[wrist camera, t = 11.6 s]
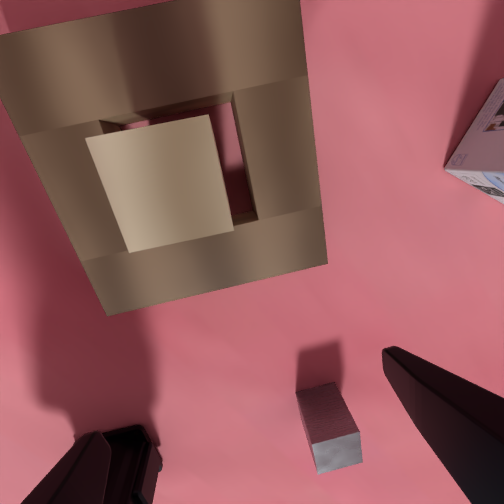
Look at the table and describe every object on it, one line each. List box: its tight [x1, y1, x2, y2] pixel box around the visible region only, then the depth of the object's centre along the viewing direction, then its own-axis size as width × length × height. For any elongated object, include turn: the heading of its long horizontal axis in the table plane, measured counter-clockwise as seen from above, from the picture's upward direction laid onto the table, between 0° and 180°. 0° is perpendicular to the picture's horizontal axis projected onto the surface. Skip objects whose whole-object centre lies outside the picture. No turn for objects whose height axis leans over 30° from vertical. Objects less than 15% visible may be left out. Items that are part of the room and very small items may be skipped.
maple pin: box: [85, 114, 234, 253], centre depth 13 cm, size 4×4×9 cm
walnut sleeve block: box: [0, 0, 328, 316], centre depth 16 cm, size 15×15×3 cm
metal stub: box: [295, 382, 363, 474], centre depth 24 cm, size 4×4×5 cm
